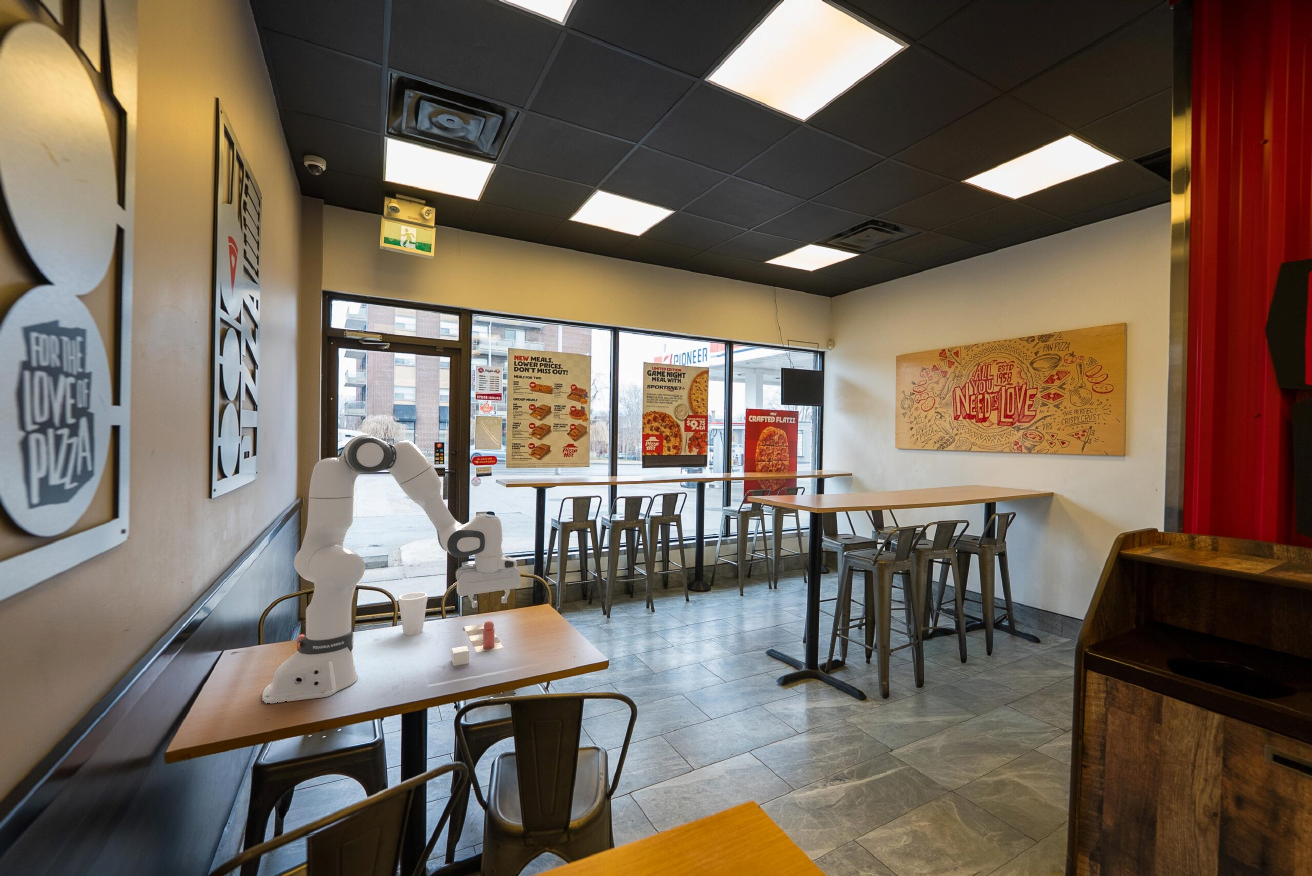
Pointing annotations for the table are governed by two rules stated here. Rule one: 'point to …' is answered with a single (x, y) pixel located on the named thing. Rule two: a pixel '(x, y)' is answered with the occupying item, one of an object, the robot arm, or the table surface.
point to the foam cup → (412, 612)
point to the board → (480, 637)
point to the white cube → (460, 655)
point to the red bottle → (488, 635)
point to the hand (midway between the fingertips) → (489, 604)
